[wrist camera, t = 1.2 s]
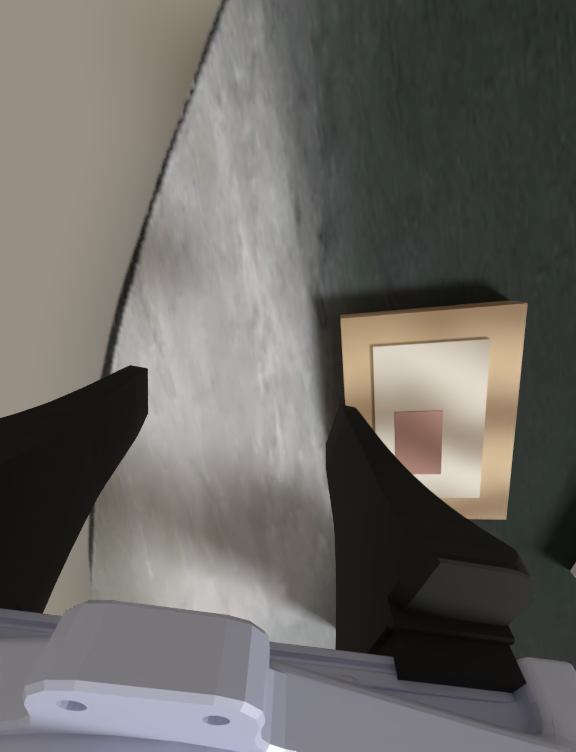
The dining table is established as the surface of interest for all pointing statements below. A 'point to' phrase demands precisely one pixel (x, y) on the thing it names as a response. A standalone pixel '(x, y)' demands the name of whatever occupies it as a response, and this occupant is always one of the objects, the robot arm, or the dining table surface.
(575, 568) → the rail
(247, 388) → the dining table surface
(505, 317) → the frame
